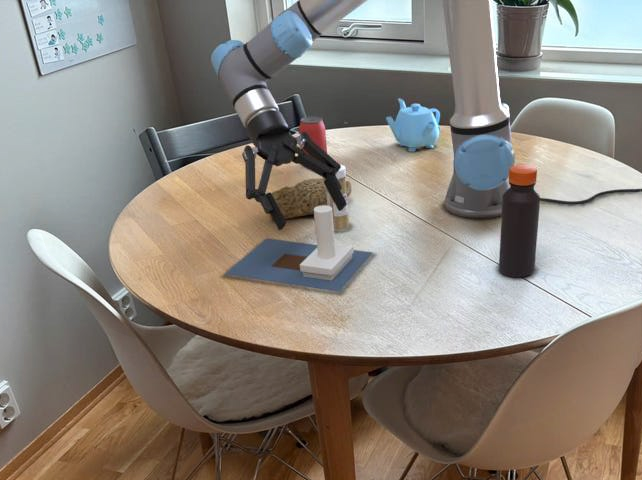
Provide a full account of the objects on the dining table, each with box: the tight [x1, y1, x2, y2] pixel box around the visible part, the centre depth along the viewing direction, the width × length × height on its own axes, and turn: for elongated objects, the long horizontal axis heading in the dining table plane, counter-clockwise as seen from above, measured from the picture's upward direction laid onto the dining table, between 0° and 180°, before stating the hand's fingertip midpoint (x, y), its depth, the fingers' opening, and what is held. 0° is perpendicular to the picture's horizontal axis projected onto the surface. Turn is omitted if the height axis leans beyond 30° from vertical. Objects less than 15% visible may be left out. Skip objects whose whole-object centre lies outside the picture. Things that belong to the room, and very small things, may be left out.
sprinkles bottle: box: [325, 164, 350, 231], centre depth 153 cm, size 5×5×14 cm
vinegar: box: [498, 164, 541, 279], centre depth 133 cm, size 7×7×20 cm
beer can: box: [299, 115, 328, 155], centre depth 187 cm, size 7×7×12 cm
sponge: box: [268, 177, 352, 220], centre depth 163 cm, size 13×8×20 cm
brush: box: [300, 205, 355, 281], centre depth 137 cm, size 7×11×12 cm, turn 161°
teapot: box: [385, 98, 441, 153], centre depth 199 cm, size 15×14×11 cm
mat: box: [224, 238, 373, 293], centre depth 142 cm, size 24×17×1 cm
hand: (313, 216), depth 137 cm, fingers open, 13 cm apart
